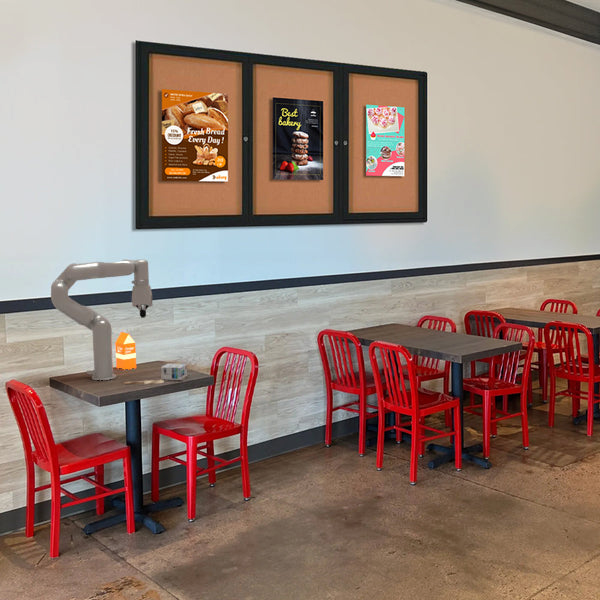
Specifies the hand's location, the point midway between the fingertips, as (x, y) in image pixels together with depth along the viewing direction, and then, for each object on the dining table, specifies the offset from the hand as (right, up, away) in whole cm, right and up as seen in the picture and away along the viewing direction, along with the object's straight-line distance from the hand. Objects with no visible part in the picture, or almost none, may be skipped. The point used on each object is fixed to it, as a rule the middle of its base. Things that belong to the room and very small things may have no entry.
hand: (143, 317), depth 402 cm
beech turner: (+5, -33, -15) cm, 37 cm away
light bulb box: (+12, -28, -5) cm, 31 cm away
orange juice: (-14, -29, +22) cm, 39 cm away
